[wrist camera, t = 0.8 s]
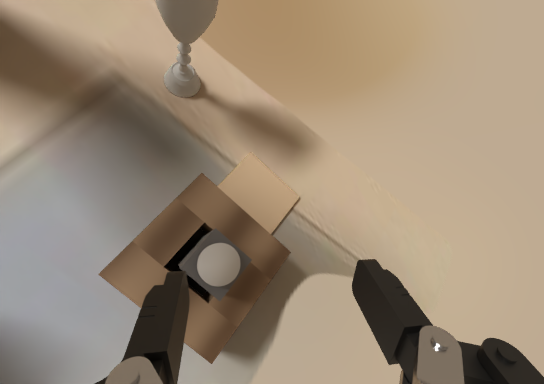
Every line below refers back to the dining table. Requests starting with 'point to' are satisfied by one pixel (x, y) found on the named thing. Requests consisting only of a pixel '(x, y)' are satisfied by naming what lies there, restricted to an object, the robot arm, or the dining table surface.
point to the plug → (214, 263)
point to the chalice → (185, 39)
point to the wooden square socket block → (173, 235)
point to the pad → (259, 192)
